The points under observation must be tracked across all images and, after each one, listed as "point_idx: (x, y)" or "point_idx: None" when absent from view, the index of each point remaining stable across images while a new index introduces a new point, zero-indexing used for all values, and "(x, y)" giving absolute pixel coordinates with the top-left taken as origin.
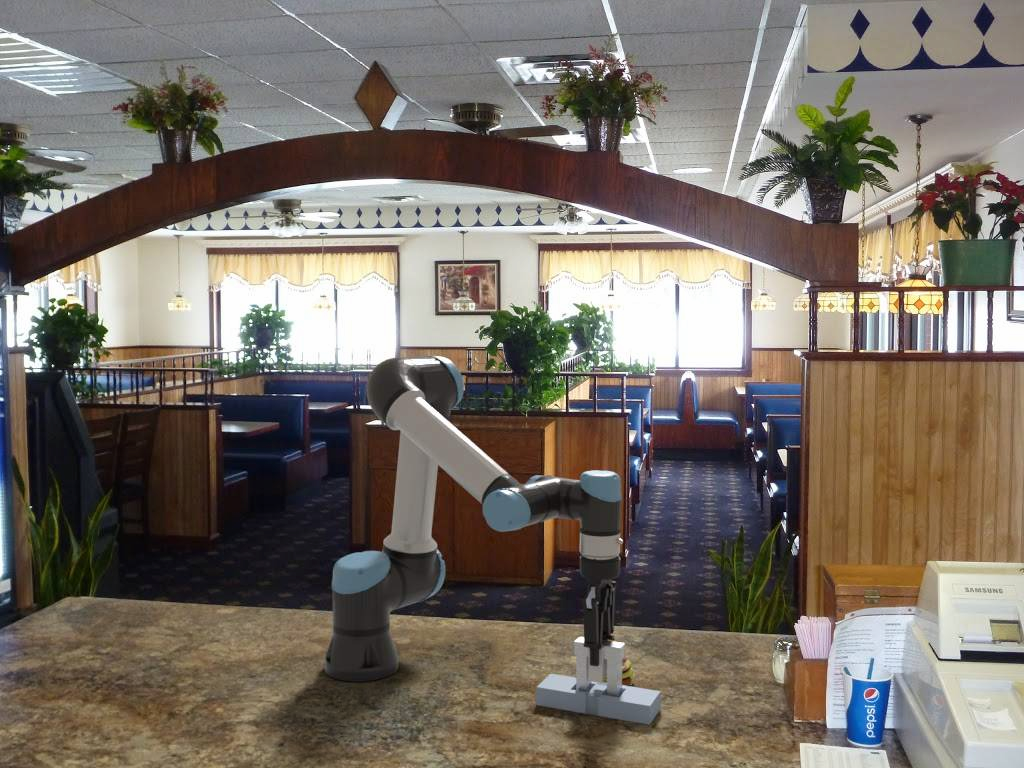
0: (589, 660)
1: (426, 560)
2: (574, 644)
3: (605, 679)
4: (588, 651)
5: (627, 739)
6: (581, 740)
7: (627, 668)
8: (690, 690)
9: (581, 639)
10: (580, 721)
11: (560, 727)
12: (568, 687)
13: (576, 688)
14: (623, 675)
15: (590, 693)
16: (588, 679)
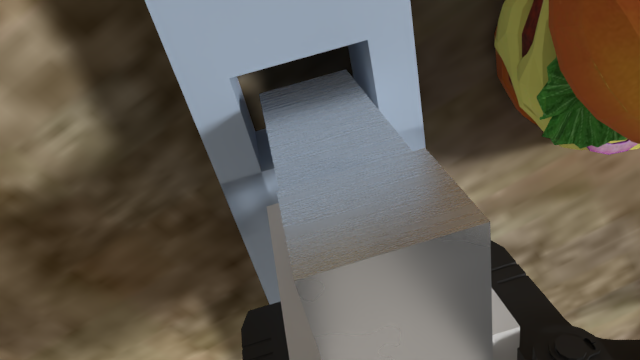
0: (281, 303)
1: None
2: (292, 258)
3: (518, 84)
4: (290, 355)
5: (150, 346)
6: (3, 270)
7: (621, 151)
8: (601, 269)
9: (408, 291)
10: (139, 171)
11: (14, 147)
12: (245, 51)
13: (261, 99)
14: (570, 144)
15: (255, 189)
16: (268, 211)
